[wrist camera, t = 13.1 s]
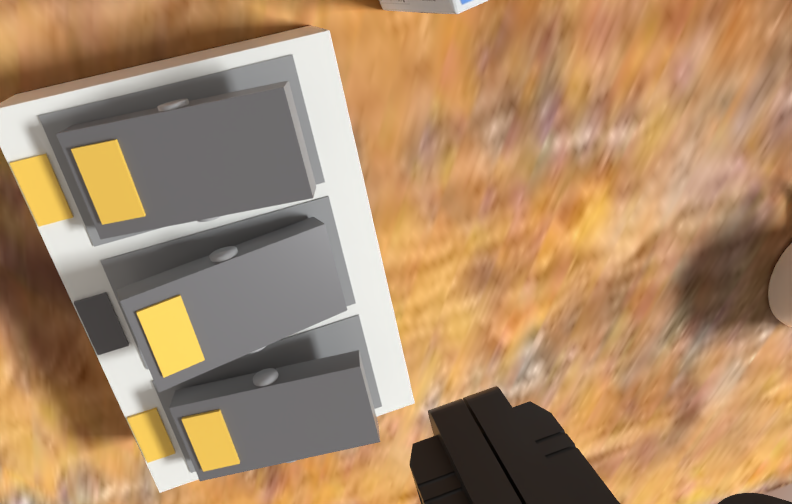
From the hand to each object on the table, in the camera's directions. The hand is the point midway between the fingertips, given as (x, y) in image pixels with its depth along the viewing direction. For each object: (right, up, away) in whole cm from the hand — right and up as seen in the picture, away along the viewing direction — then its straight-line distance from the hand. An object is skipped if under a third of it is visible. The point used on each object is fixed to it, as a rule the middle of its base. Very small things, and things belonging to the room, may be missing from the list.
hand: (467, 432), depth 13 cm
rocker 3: (-7, -4, +18) cm, 20 cm away
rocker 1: (-10, +7, +13) cm, 18 cm away
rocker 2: (-8, +2, +16) cm, 18 cm away
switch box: (-10, +4, +22) cm, 25 cm away
